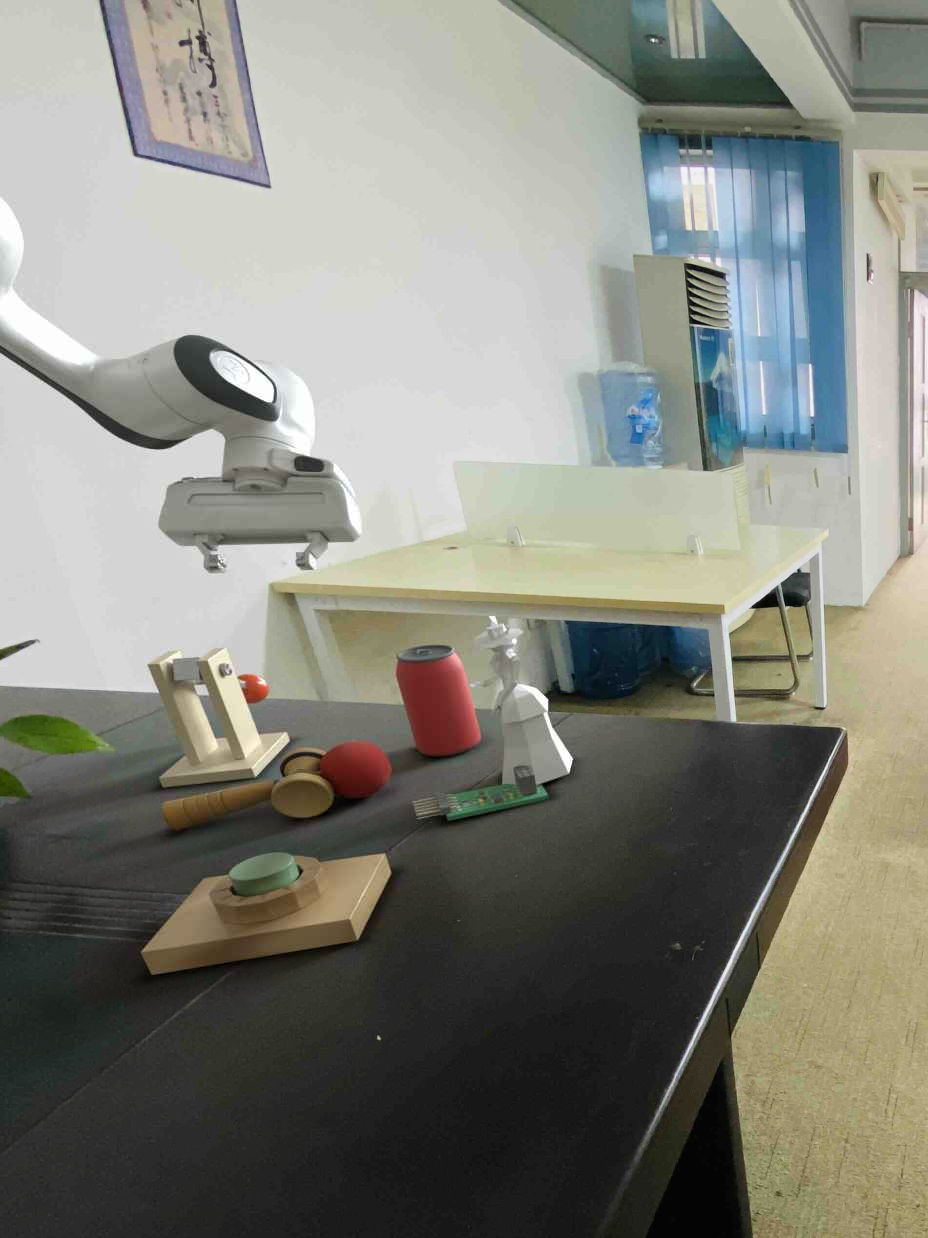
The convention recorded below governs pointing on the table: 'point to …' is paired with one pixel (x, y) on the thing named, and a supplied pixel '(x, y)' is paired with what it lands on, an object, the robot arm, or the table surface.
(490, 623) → the figurine
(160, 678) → the bracket
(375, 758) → the kendama
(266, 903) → the button block
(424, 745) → the beer can
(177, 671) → the lever
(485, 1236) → the table surface
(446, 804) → the circuit board
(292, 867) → the button
